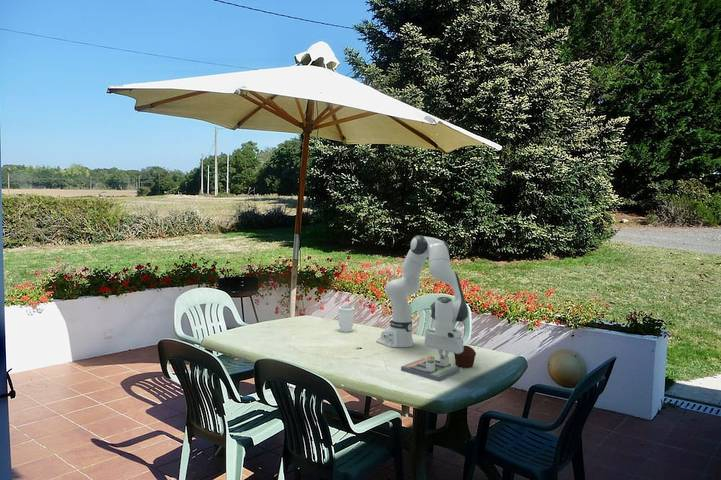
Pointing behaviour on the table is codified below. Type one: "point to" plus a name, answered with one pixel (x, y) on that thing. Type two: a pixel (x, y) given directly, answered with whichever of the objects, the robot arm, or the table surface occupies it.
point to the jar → (346, 318)
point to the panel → (438, 374)
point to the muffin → (465, 358)
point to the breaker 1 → (430, 366)
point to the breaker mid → (430, 358)
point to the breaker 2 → (444, 362)
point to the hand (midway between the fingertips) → (443, 359)
